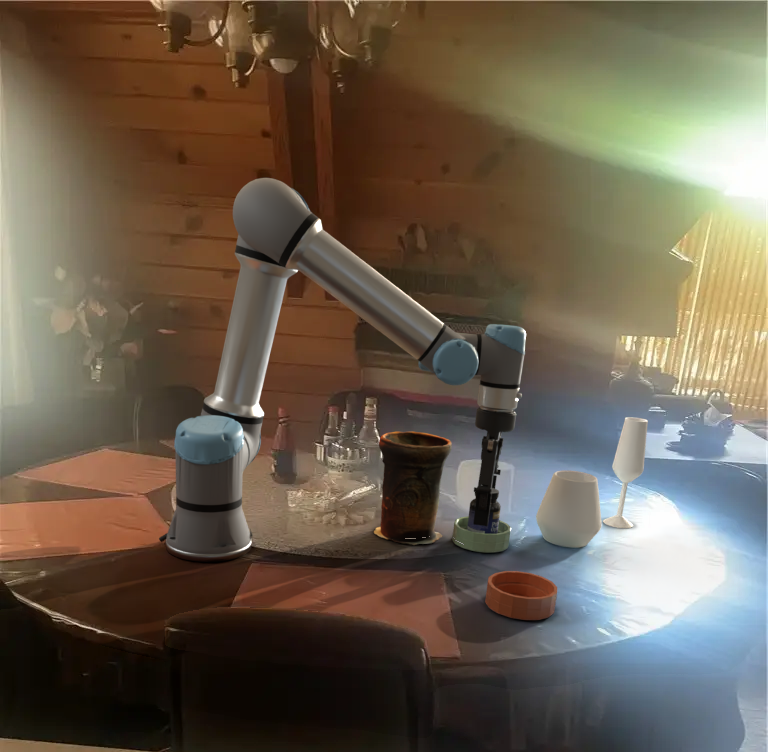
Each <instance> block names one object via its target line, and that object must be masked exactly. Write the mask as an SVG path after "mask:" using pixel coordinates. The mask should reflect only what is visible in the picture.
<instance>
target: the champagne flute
mask: <svg viewBox="0 0 768 752" xmlns="http://www.w3.org/2000/svg"><path fill="white" fill-rule="evenodd" d="M623 421H624V422H623V425H622V429H621V433H620V436H619V440H618V442H617V443H618V444H617V448H616V451H615V454H614V458H613V462H612V465H611V466H612V467H611V468H612V471H613V473H614V475H615V476H616V477H617V479H618V480H619V481H621V483H622V484H621V487H620V495H619V500H618V506H617V510H616V511H617V512H616V514H615V515H612V516H610V517H607V518H604V519H603V520H602V522H603V523H604V524H605V525H606V526H609V527H612V528H618V529H631V528H633V527H634V524H633V523H632V522H631V521H629V519H627V518H626V517H624V515H623V512H624V507H625V502H626V496H627V490H628V484H629V483H632V482H634V481H635V480H636V479H638V478H639V477H640V476H641V475H642V474H643V473H644V470H645V469H644V467H645V459H646V458H645V457H646V446H647V445H646V444H647V435H648V434H647V433H648V424H649V423H648V422H649V421H648V420H647V419H645V418H641V417H632V416H627V417H625V418H624V420H623Z"/></svg>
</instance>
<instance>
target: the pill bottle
mask: <svg viewBox="0 0 768 752" xmlns="http://www.w3.org/2000/svg"><path fill="white" fill-rule="evenodd" d="M491 493H492V496H491V504H490V511H489V519H488V526H481V525H474V524H473V523H474V514H475V506H476V498H477V492H474V496H475V498H473V499H471V500H470V503H469V509H468V516H469V517H468V526H467V530H469V531H473V532H477V533H485V534H497V533H498V525H499V520H500V516H501V515H500V514H501V507H502V506H501V503H500V502H498V498H499V495H500V491H499V490H498V489H497V488H495V489H494V488H492V492H491Z"/></svg>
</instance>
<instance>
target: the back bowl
mask: <svg viewBox="0 0 768 752" xmlns="http://www.w3.org/2000/svg"><path fill="white" fill-rule="evenodd" d="M468 517H469V515H468V516H460V517H458V518H457V519H455V520H454V523H453V529H452V531H453V532H452V542H453V543H454V544H455V545H456V546H458V547H460V548H462V549H465V550H468V551H471V552H472V551H473V552H477V553H499V552H504V551H505V550H508V548H509V545H510V539H511V538H510V537H511V532H512V531H511V530H512V526H510V524H508V523H507V522H505V521H503V520H500V519H499V525H498V533H497V534H485V533H477V532H473V531H469V530H467V526H468ZM453 537H454V538H455V539H454V538H453ZM455 540H457V541H459V542H461V543H463V544H464V545H463V544H461V543H459V542H457V541H455Z"/></svg>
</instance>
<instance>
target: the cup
mask: <svg viewBox="0 0 768 752" xmlns="http://www.w3.org/2000/svg"><path fill="white" fill-rule="evenodd" d="M535 519H536V524H537V526H538V528H539V530H540V533H541V535H542V537H543V540H545V541H546V542H547V543H550V544H553V545H554V546H555V545H556V546H559V547H564V548H584V547H586V546H587V545H589V543H590V542H591V541H592V540H593V539H594V538H595V537H596V535H598V533H599V532H600V531H601V529H602V527H603V526H602V522H603V521H602V512H601V501H600V490H599V480H598V477H597V476H595V475H593V474H590V473H588V472H587V473H586V472H583V471H578V470H569V469H567V470H565V469H564V470H557V471H555V472H553V473H552V477H551V478H550V481H549V484H548V485H547V488H546V491H545V493H544V495H543V497H542V499H541V502H540V505H539V507H538V510H537V512H536V515H535Z"/></svg>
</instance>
